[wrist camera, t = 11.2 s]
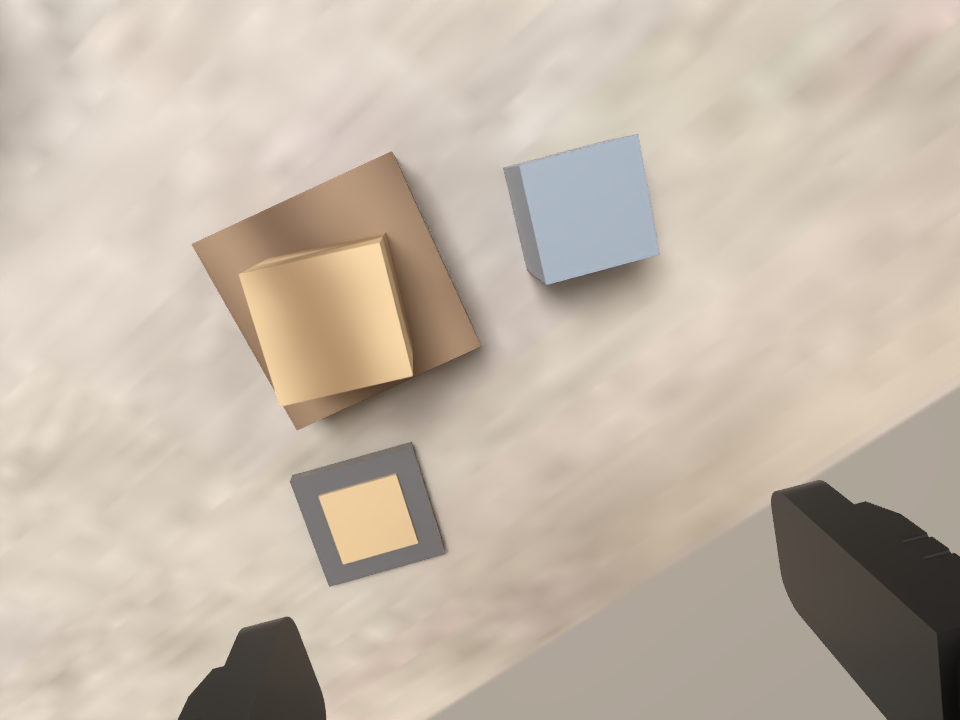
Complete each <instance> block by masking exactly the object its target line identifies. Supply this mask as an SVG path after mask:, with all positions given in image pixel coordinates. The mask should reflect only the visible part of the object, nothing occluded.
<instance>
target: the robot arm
mask: <svg viewBox="0 0 960 720" xmlns="http://www.w3.org/2000/svg"><path fill="white" fill-rule="evenodd" d="M771 507H772V514H773V521H774V528H775V535H776V542H777V548H778V556H779V563H780V570H781V575H782V580H783V583H784V586H785V589H786V592H787V594H788V596H789V598H790V600H791V602H792V604H793V606H794V608H795V609H796V611H797V612H798V613H799V615H800V616H801V617H802V618H803V620H804V621H805V622H806V623H807V624H808V626H809V627H810V628H811V629H812V630H813V631H814V633H815V634H816V635H817V636H818V637H819V638H820V640H821V641H822V642H823V644H824V645H825V646H826V647H827V648H828V649H829V650H830V652H831V653H832V654H833V655H834V656H835V658H836V659H837V660H838V661H839V662H840V664H841V665H842V666H843V667H844V668H845V669H846V671H847V672H848V673H849V674H850V676H851V677H852V678H853V679H854V680H855V682H856V683H857V684H858V685H859V686H860V688H861V689H862V690H863V691H864V692H865V694H866V695H867V696H868V697H869V698H870V700H872V702H873V703H874V704H875V705H876V707H877V708H878V709H879V710H880V711H881V713H882V714H883V715H884V716H885V717H886V719H887V720H960V556H958V555H957V554H955V553H953V554H951V552H950V551H949V549H948V548H947V547H946V546H944V545H943V544H942V543H940V542H939V541H938V540H936V539H934V538H933V537H928V535H927V533H926V532H925V531H924V530H922V529H921V528H919V527H918V526H917V525H915V524H914V523H912V522H911V521H910V520H908V519H907V518H905V517H904V516H903V515H901V514H899V513H896V512H894V511H891V510H888V509H885V508H882V507H880V506H877V505H874V504H871V503H868V502H866V501H865V502H862V503H858V504H853V503H852V502H850V501H849V500H848V499H847V498H845V497H844V496H842V495H841V494H840V493H839V492H838V491H836V490H835V489H834V488H832V487H831V486H830V485H829V484H827V483H826V482H824V481H822V480H817V481H814V482H810V483H806V484H802V485H798V486H794V487H790V488H787V489H783V490H779V491H775V492H774V493H773V494H772V498H771ZM178 720H326V710H325V703H324V698H323V695H322V691H321V689H320V686H319V683H318V681H317V678H316V676H315V673H314V670H313V668H312V665H311V662H310V660H309V657H308V655H307V652H306V649H305V647H304V644H303V642H302V639H301V636H300V634H299V631H298V629H297V626H296V624H295V622H294V621H293V620H292V619H291V618H290V617H283V618H280V619H276V620H272V621H268V622H264V623H260V624H256V625H253V626H249V627H245V628H243V629H241V630H240V631H239V633H238V635H237V637H236V640H235V642H234V644H233V647H232V649H231V651H230V654H229V656H228V658H227V661H226V663H225V665H224V666H223V667H219V668H215V669H212V671H211V672H210V673H209V674H208V675H207V676H206V677H205V679H204V680H203V681H202V682H201V683H200V684H199V685H198V687H197V688H196V689H195V690H194V691H193V692H192V693H191V695H190V696H189V697H188V699H187V701H186V703H185V705H184V707H183V710H182V712H181V714H180V716H179V718H178Z"/></svg>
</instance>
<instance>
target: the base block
mask: <svg viewBox="0 0 960 720" xmlns="http://www.w3.org/2000/svg"><path fill="white" fill-rule="evenodd" d="M384 232H385V233H386V237H387V241H388V246H389V250H390V254H391V258H392V262H393V266H394V270H395V274H396V278H397V282H398V286H399V290H400V294H401V298H402V302H403V306H404V310H405V314H406V318H407V323H408V327H409V331H410V335H411V339H412V343H413V376H411V377H407V378H403V379H398V380H394V381H390V382H385V383H381V384H377V385H372V386H368V387H364V388H359V389H355V390H351V391H346V392H342V393H338V394H333V395H329V396H325V397H320V398H316V399H312V400H307V401H303V402H299V403H294V404H290V405H286V406H283V407H284V408H285V410H286V412H287V414H288V415H289V417H290V419H291V421H292V422H293V424H294V426H295V428H296V429H297V430H299V429H301V428H303V427H305V426H308V425H310V424H312V423H314V422H316V421H319V420H321V419H323V418H325V417H327V416H329V415H332V414H334V413H336V412H338V411H340V410H343V409H345V408H347V407H349V406H351V405H354V404H356V403H358V402H360V401H362V400H365V399H367V398H369V397H371V396H373V395H375V394H378V393H380V392H382V391H384V390H386V389H389V388H391V387H393V386H395V385H397V384H400V383H402V382H404V381H406V380H408V379H411V378H413V377H415V376H417V375H419V374H421V373H424V372H426V371H428V370H430V369H432V368H435V367H437V366H439V365H441V364H443V363H446V362H448V361H450V360H452V359H454V358H456V357H459V356H461V355H463V354H465V353H467V352H470V351H472V350H474V349H476V348H478V347H481V345H480V343H479V340H478V338H477V335H476V333H475V331H474V328H473V326H472V324H471V322H470V320H469V317H468V315H467V313H466V311H465V309H464V306H463V304H462V302H461V300H460V298H459V296H458V293H457V291H456V289H455V287H454V285H453V282H452V280H451V278H450V276H449V274H448V272H447V269H446V267H445V265H444V263H443V261H442V259H441V256H440V254H439V252H438V250H437V248H436V245H435V243H434V241H433V239H432V237H431V235H430V232H429V230H428V228H427V226H426V224H425V222H424V219H423V217H422V215H421V213H420V211H419V208H418V206H417V204H416V202H415V200H414V198H413V195H412V193H411V191H410V189H409V187H408V184H407V182H406V180H405V178H404V176H403V174H402V171H401V169H400V167H399V165H398V163H397V161H396V158H395V156H394V154H393V153H392V152H389V153H387V154H385V155H383V156H380V157H378V158H376V159H374V160H372V161H370V162H368V163H365V164H363V165H361V166H359V167H357V168H355V169H352V170H350V171H348V172H346V173H344V174H342V175H340V176H337V177H335V178H333V179H331V180H329V181H327V182H324V183H322V184H320V185H318V186H316V187H314V188H312V189H309V190H307V191H305V192H303V193H301V194H299V195H296V196H294V197H292V198H290V199H288V200H286V201H284V202H281V203H279V204H277V205H275V206H273V207H271V208H268V209H266V210H264V211H262V212H260V213H258V214H256V215H253V216H251V217H249V218H247V219H245V220H243V221H240V222H238V223H236V224H234V225H232V226H230V227H228V228H225V229H223V230H221V231H219V232H217V233H215V234H212V235H210V236H208V237H206V238H204V239H202V240H200V241H197V242H195V243H193V244H192V246H193V248H194V249H195V251H196V253H197V255H198V256H199V258H200V260H201V262H202V264H203V265H204V267H205V269H206V271H207V272H208V274H209V276H210V278H211V279H212V281H213V283H214V285H215V286H216V288H217V290H218V292H219V294H220V295H221V297H222V299H223V301H224V302H225V304H226V306H227V308H228V309H229V311H230V313H231V315H232V316H233V318H234V320H235V322H236V324H237V325H238V327H239V329H240V331H241V332H242V334H243V336H244V338H245V339H246V341H247V343H248V345H249V346H250V348H251V350H252V352H253V354H254V355H255V357H256V359H257V361H258V362H259V364H260V366H261V368H262V369H263V371H264V373H265V375H266V377H267V378H268V380H269V382H270V384H271V385H272V387H273V389H274V386H273V383H272V380H271V377H270V373H269V370H268V367H267V364H266V361H265V357H264V354H263V351H262V348H261V345H260V341H259V338H258V335H257V332H256V329H255V325H254V322H253V319H252V316H251V313H250V309H249V306H248V303H247V300H246V297H245V293H244V290H243V287H242V284H241V281H240V277H239V274H240V273H242V272H244V271H245V270H247V269H249V268H251V267H253V266H255V265H257V264H259V263H260V262H262V261H264V260H266V259H268V258H272V257H276V256H281V255H285V254H290V253H294V252H299V251H303V250H308V249H312V248H317V247H321V246H326V245H330V244H335V243H339V242H344V241H348V240H353V239H357V238H362V237H366V236H371V235H375V234H380V233H384ZM274 391H275V389H274Z"/></svg>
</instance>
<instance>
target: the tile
mask: <svg viewBox="0 0 960 720" xmlns="http://www.w3.org/2000/svg"><path fill="white" fill-rule="evenodd" d="M290 483H291V486H292V488H293V491H294V494H295V496H296V499H297V502H298V504H299V507H300V510H301V512H302V515H303V518H304V520H305V523H306V526H307V528H308V531H309V534H310V537H311V539H312V542H313V545H314V547H315V550H316V553H317V555H318V558H319V561H320V563H321V566H322V569H323V571H324V574H325V577H326V579H327V582H328V585H329V587H330V586H334V585H337V584H341V583H344V582H348V581H351V580H355V579H358V578H362V577H365V576H369V575H372V574H376V573H379V572H383V571H386V570H390V569H393V568H397V567H400V566H404V565H407V564H411V563H414V562H418V561H421V560H425V559H428V558H432V557H436V556H439V555H443V554H445V551H444V545H443V542H442V538H441V535H440V532H439V529H438V525H437V522H436V519H435V516H434V513H433V509H432V506H431V503H430V500H429V497H428V493H427V490H426V487H425V484H424V481H423V477H422V474H421V471H420V468H419V464H418V461H417V458H416V455H415V452H414V448H413V445H412V442H410V443H406V444H403V445H399V446H396V447H392V448H389V449H385V450H381V451H378V452H374V453H371V454H367V455H364V456H360V457H356V458H353V459H349V460H346V461H342V462H339V463H335V464H331V465H328V466H324V467H321V468H317V469H314V470H310V471H306V472H303V473H299V474H296V475H292V478H291V480H290Z"/></svg>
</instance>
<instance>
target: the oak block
mask: <svg viewBox="0 0 960 720" xmlns="http://www.w3.org/2000/svg"><path fill="white" fill-rule="evenodd" d="M239 277H240V281H241V284H242V287H243V290H244V293H245V297H246V300H247V303H248V306H249V309H250V313H251V316H252V319H253V322H254V325H255V329H256V332H257V335H258V338H259V341H260V345H261V348H262V351H263V354H264V357H265V361H266V364H267V367H268V370H269V373H270V377H271V380H272V383H273V386H274V389H275V393H276V396H277V399H278V402H279V406H280V407H281V406H286V405H290V404H294V403H299V402H303V401H307V400H312V399H316V398H320V397H325V396H329V395H333V394H338V393H342V392H346V391H351V390H355V389H359V388H364V387H368V386H372V385H377V384H381V383H385V382H390V381H394V380H398V379H403V378H407V377H411V376H413V343H412V339H411V335H410V331H409V327H408V323H407V318H406V314H405V310H404V306H403V302H402V298H401V294H400V290H399V286H398V282H397V278H396V274H395V270H394V266H393V262H392V258H391V254H390V250H389V246H388V241H387V237H386V233H385V232H384V233H380V234H375V235H371V236H366V237H362V238H357V239H353V240H348V241H344V242H339V243H335V244H330V245H326V246H321V247H317V248H312V249H308V250H303V251H299V252H294V253H290V254H285V255H281V256H276V257H272V258H268V259H266V260H264V261H262V262H260V263H259V264H257V265H255V266H253V267H251V268H249V269H247V270H245V271H244V272H242V273H240V274H239Z"/></svg>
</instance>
